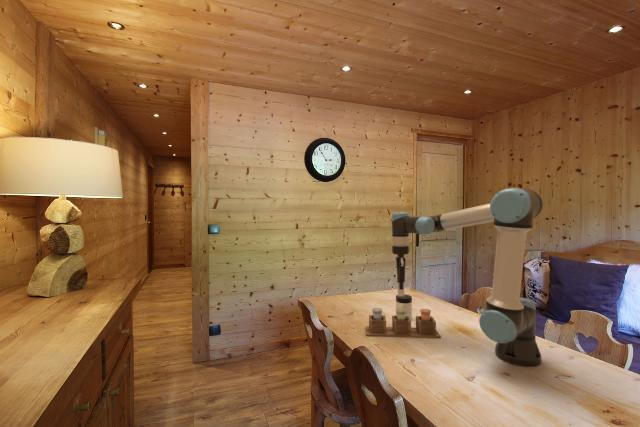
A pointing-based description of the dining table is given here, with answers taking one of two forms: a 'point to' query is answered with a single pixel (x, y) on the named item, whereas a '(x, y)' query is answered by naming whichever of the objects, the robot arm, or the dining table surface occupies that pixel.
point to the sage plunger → (401, 314)
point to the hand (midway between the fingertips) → (401, 295)
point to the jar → (405, 304)
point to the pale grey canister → (377, 313)
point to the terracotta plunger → (425, 314)
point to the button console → (402, 328)
